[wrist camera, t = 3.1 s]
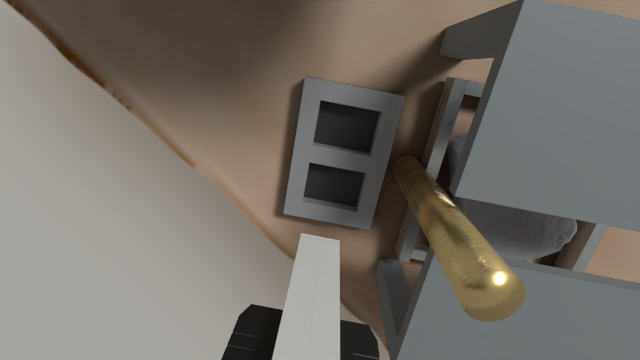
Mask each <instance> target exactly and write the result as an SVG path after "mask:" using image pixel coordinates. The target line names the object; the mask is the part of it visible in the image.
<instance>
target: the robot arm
mask: <svg viewBox="0 0 640 360" xmlns="http://www.w3.org/2000/svg"><path fill="white" fill-rule="evenodd" d="M221 360H379V350H378V343H377V339H376V338H375V336H374V334H373V332H372V331H371V329H370V327H369V326H368V325H365V324H359V323H354V322H349V321H344V320H340V240H335V239H330V238H324V237H319V236H314V235H309V234H304V233H301V236H300V241H299V245H298V249H297V254H296V258H295V262H294V267H293V271H292V275H291V279H290V284H289V288H288V292H287V297H286V301H285V305H284V310H280V309H274V308H268V307H264V306H258V305H253V304H251V305H250V306H249V307H248V308H247V309H246V310H245V311H244V312H243V313H241V314H240V315H239V317H238V320H237V323H236V325H235V328H234V330H233V333H232V335H231V337H230V340H229V342H228V345H227V347H226V349H225V352H224V354H223V357H222V359H221Z"/></svg>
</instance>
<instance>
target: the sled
mask: <svg viewBox="0 0 640 360" xmlns="http://www.w3.org/2000/svg"><path fill="white" fill-rule="evenodd" d="M484 86H485V84H483V83H478V82H472V81H469V80H464V79H459V78H452V77H447V78H446V81H445V84H444V88H443V91H442V94H441V97H440V101H439V104H438V107H437V111H436V114H435V117H434V121H433V124H432V127H431V130H430V134H429V137H428V140H427V144H426V147H425V150H424V153H423V157H422V160H421V163H420V162H419V161H418V160H417V159H416V158H415V157H412V156H403V157H401V158H399V159H398V160H397V161H396V162H395V164H394V167H393V173H394V175H395V177H396V179H397V181H398V183H399V185H400V187H401V189H402V191H403V193H404V195H405V197H406V199H407V201H408V206H407V209H406V213H405V216H404V219H403V223H402V226H401V229H400V233H399V236H398V239H397V242H396V246H395V252H396V255H397V259H398V261H402V262H408V263H409V261H410V258H411V259H416V260H421V261H424V260H425V257H426V254H427V251H428V248H429V246H426V245H421V244H416V240H417V237H418V234H419V231H420V228H422V230H423V232H424V234H425V236H426V238H427V240H428V242H429V244H430V246H431V248H432V249H433V251H434V253H435V255H436V257H437V259H438V261H439V263H440V265H441V267H442V269H443V271H444V273H445V275H446V277H447V279H448V281H449V283H450V285H451V287H452V288H453V290H454V292H455V294H456V296H457V298H458V300H459V302H460V304H461V306H462V308H463V310H464V311H465V312H466V314H468V315H469V316H470V317H472V318H474V319H476V320H479V321H484V322H494V321H499V320H503V319H505V318H507V317H509V316H511V315H513V314H514V313H515V312H516V311H517V310H518V309H519V308H520V307H521V305H522V304H523V302H524V299H525V288H524V285H523V283H522V282H521V280H520V279H519V278H518V277H517V276H516V274H515V273H514V272H513V271H512V270H511V269H510V267H509V266H508V265H507V264H506V263H505V262H504V260H503V259H502V258H501V257H500V256H499V255H498V253H497V252H496V251H495V250H494V249H493V247H492V246H491V245H490V244H489V243H488V242H487V240H486V239H485V238H484V237H483V236H482V235H481V233H480V232H479V231H478V230H477V229H476V228H475V226H474V225H473V224H472V223H471V222H470V221H469V219H468V218H467V217H466V216H465V215H464V213H463V212H462V211H461V210H460V209H459V208H458V206H457V205H456V204H455V203H454V202H453V201H452V199H451V198H450V197H449V196H448V195H447V194H446V192H445V191H444V190H443V189H442V188H441V187H440V185H439V184H438V183H437V182H436V179H437V176H438V173H439V170H440V166H441V163H442V160H443V157H444V154H445V151H446V148H447V145H448V142H449V139H450V136H451V133H452V130H453V127H454V124H455V121H456V118H457V115H458V111H459V108H460V105H461V102H462V99H463V96H464V94H466V95H471V96H476V97H481V95H482V92H483V89H484ZM576 223H577V232H576V233H575V234H574V236H573V237H572V239H571V240H570V241H569V242H568V243H565V244H564V246H563V248H562V249H561V251H560V253H559V255H558V257H557V259H556V261H555V263H554V265H553V267H556V268H562V269H567V270H572V271H577V272H584V270H585V268H586V266H587V264H588V263H589V261H590V259H591V257H592V255H593V254H594V252H595V250H596V248H597V246H598V244H599V243H600V241H601V239H602V237H603V235H604V234H605V232H606V230H607V228H608V226H607V225H602V224H597V223H591V222H586V221H581V220H576Z"/></svg>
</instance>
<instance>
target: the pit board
mask: <svg viewBox="0 0 640 360" xmlns="http://www.w3.org/2000/svg"><path fill="white" fill-rule="evenodd" d="M404 101H405V96H403V95H399V94H394V93H389V92H384V91H379V90H374V89H369V88H363V87H358V86H353V85H348V84H343V83H338V82H333V81H327V80H322V79H317V78H312V77H305V80H304V86H303V93H302V99H301V105H300V111H299V118H298V124H297V130H296V137H295V143H294V149H293V156H292V162H291V168H290V174H289V181H288V187H287V193H286V200H285V206H284V212H283V214H287V215H292V216H297V217H303V218H308V219H313V220H318V221H323V222H329V223H334V224H339V225H344V226H350V227H355V228H360V229H365V230H370V228H371V224H372V220H373V217H374V213H375V209H376V205H377V202H378V198H379V194H380V190H381V187H382V183H383V179H384V175H385V172H386V168H387V164H388V160H389V157H390V153H391V149H392V145H393V142H394V138H395V134H396V130H397V127H398V123H399V119H400V115H401V112H402V108H403V104H404Z"/></svg>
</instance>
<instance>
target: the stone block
mask: <svg viewBox="0 0 640 360" xmlns="http://www.w3.org/2000/svg"><path fill="white" fill-rule="evenodd" d="M467 136H468V134H464V135H461V136H456V137H455V138H453V139H451V140H450V141H449V142H448V145H447V150H448V162H449V170H450V180H451V182H452V179H453V176H454V173H455V170H456V167H457V165H458V162H459V159H460V156H461V153H462V150H463V147H464V144H465V141H466V138H467ZM452 198H453V202H454V203H455V204H456V205H457V206H458V208H459V209H460V210H461V211H462V212H463V213H464V215H465V216H466V217H467V218H468V219H469V221H470V222H471V223H472V224H473V225H474V226H475V228H476V229H477V230H478V231H479V232H480V233H481V235H482V236H483V237H484V238H485V239H486V240H487V242H488V243H489V244H490V245H491V246H492V247H493V249H494V250H495V251H496V252H497V253H498V255H499V256H500V257H504V258H509V259H515V260H520V261H524V260H532V259H537V258H540V257H543V256H546V255H550V254H552V253H555V252H558V251H560V250H561V248H562V247H563V245H564V244H565V243H568V242H569V241H570V240H571V239H572V237H573V236H574V234H575V233H576V232H577V223H576V219H571V218H565V217H560V216H555V215H550V214H545V213H539V212H534V211H529V210H524V209H519V208H513V207H508V206H503V205H498V204H493V203H488V202H482V201H477V200H472V199H467V198H462V197H456V196H454V195H453V194H452Z"/></svg>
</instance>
